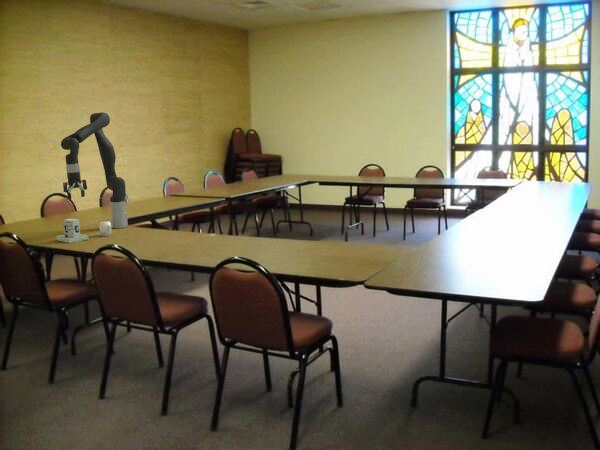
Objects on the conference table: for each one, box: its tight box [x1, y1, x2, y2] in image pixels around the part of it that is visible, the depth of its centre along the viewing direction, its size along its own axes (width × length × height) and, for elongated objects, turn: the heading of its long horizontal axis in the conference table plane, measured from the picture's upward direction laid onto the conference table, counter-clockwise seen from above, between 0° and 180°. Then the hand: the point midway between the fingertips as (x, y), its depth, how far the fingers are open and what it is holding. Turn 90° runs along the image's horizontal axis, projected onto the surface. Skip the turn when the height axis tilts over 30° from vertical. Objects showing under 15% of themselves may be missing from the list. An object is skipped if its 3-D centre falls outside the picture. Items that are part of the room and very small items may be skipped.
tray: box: [56, 233, 89, 244], centre depth 386 cm, size 12×16×3 cm
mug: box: [98, 221, 113, 237], centre depth 398 cm, size 7×9×8 cm
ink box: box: [63, 218, 81, 238], centre depth 385 cm, size 9×5×12 cm, turn 59°
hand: (76, 198), depth 394 cm, fingers open, 8 cm apart
